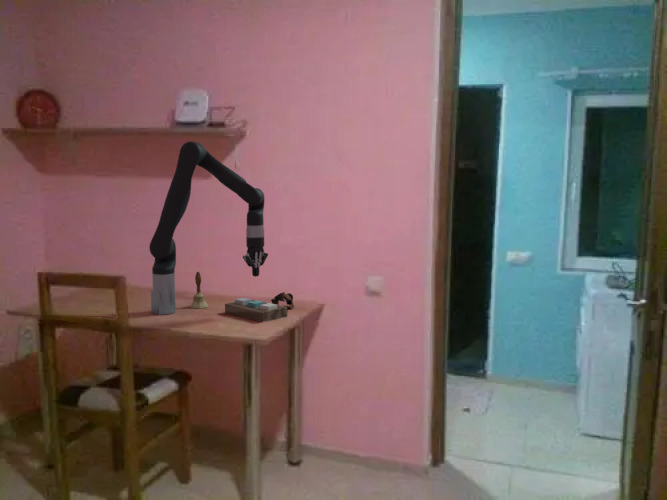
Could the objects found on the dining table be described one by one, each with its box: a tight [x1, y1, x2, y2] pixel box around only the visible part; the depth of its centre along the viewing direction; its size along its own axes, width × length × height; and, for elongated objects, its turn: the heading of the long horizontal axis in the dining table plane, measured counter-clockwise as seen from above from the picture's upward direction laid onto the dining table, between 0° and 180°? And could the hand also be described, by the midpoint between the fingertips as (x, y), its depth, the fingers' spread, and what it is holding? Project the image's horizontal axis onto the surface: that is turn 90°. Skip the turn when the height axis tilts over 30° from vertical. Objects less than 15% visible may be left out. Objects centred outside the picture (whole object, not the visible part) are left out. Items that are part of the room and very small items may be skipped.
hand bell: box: [189, 271, 209, 310], centre depth 276 cm, size 8×8×16 cm
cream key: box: [260, 302, 277, 311], centre depth 258 cm, size 5×5×2 cm
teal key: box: [248, 299, 265, 308], centre depth 263 cm, size 5×5×2 cm
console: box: [224, 299, 288, 323], centre depth 263 cm, size 14×24×4 cm, turn 50°
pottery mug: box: [270, 291, 295, 310], centre depth 277 cm, size 12×10×8 cm
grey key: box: [234, 297, 253, 305], centre depth 268 cm, size 5×5×2 cm
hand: (255, 276), depth 261 cm, fingers closed
